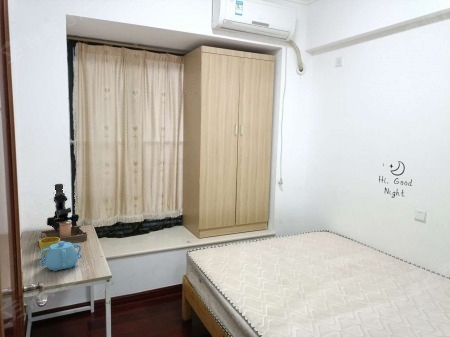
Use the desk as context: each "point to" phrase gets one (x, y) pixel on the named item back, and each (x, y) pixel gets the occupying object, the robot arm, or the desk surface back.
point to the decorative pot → (60, 256)
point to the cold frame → (77, 231)
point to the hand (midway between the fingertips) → (65, 230)
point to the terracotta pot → (65, 229)
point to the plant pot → (48, 243)
